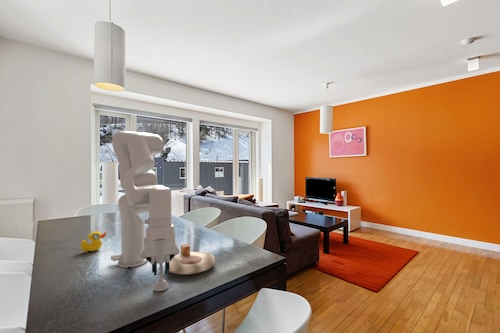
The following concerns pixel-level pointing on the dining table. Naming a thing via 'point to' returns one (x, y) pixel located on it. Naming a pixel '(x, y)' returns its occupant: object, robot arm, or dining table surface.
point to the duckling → (93, 242)
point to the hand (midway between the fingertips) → (161, 272)
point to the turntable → (191, 261)
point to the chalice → (160, 259)
